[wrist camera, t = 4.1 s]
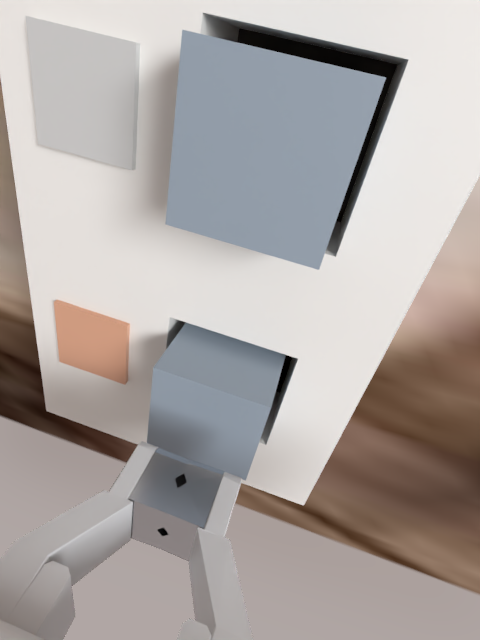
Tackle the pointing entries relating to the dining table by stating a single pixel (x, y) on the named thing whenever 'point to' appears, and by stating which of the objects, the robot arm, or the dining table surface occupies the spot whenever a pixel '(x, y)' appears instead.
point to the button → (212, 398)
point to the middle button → (264, 146)
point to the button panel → (210, 254)
